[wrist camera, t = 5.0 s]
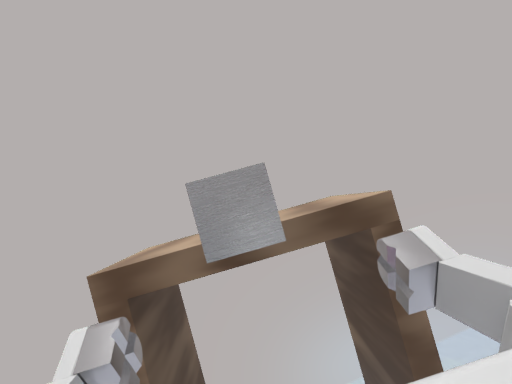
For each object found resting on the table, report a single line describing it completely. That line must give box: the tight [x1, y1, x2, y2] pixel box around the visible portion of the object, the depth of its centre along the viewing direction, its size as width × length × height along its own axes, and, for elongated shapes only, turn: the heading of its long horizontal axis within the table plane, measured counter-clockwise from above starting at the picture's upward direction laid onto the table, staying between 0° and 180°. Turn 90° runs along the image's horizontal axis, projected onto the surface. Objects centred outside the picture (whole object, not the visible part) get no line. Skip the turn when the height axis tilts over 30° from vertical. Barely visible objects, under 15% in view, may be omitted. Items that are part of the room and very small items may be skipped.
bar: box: [185, 163, 286, 263], centre depth 22 cm, size 4×20×4 cm, turn 1°
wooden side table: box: [87, 190, 444, 384], centre depth 28 cm, size 20×14×26 cm
